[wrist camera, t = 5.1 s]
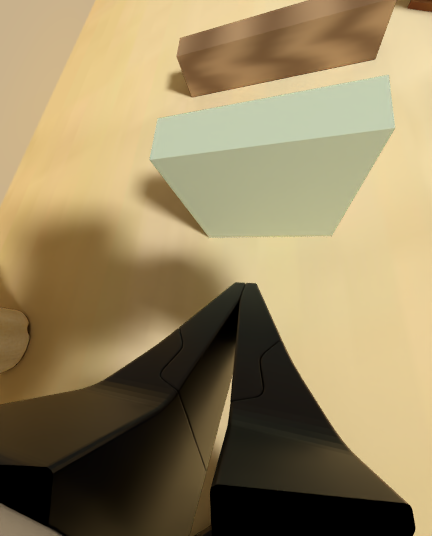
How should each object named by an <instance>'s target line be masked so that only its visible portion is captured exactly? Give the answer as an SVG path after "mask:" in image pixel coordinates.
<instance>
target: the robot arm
mask: <svg viewBox="0 0 432 536" xmlns="http://www.w3.org/2000/svg"><path fill="white" fill-rule="evenodd" d="M232 375H233V379H232ZM231 379H232V390H231V404H230V412H229V420H228V426H227V430H226V434H225V437H224V441H223V445H222V449H221V452H220V456H219V460H218V463H217V467H216V471H215V474H214V478H213V482H212V486H211V489H210V505H211V526H209V527H208V528H206V529H205V530H203V531H202V532H200V533H199V534H197V535H196V536H413V534H414V532H415V522H414V517H413V511H412V508H411V506H410V505H409V504H408V503H407V502H406V501H405V500H404V499H402V498H401V497H400V496H399V495H398V494H397V493H396V492H395V491H394V490H393V489H392V488H390V487H389V486H388V485H387V484H386V483H385V482H384V481H383V480H382V479H381V478H380V477H379V476H377V475H376V474H375V473H374V472H373V471H372V470H371V469H370V468H369V467H368V466H367V465H365V464H364V463H363V462H362V461H361V460H360V459H359V458H358V457H357V456H356V455H355V454H354V453H353V452H352V451H351V450H350V449H349V448H348V447H347V445H346V444H345V443H344V442H343V441H342V439H341V438H340V437H339V435H338V434H337V432H336V431H335V430H334V428H333V426H332V425H331V423H330V422H329V420H328V419H327V417H326V416H325V414H324V412H323V411H322V409H321V408H320V406H319V405H318V403H317V401H316V400H315V398H314V397H313V395H312V393H311V392H310V390H309V389H308V387H307V386H306V384H305V382H304V381H303V379H302V378H301V376H300V374H299V372H298V371H297V369H296V367H295V366H294V364H293V362H292V360H291V358H290V356H289V354H288V352H287V350H286V348H285V346H284V343H283V341H282V339H281V337H280V335H279V333H278V330H277V328H276V326H275V324H274V321H273V319H272V317H271V315H270V313H269V310H268V308H267V306H266V304H265V301H264V299H263V297H262V295H261V293H260V290H259V288H258V286H257V284H256V283H246V284H245V283H238V282H236V283H234V284H233V285H232V286H230V287H229V288H228V289H227V290H225V291H224V292H223V293H222V294H220V295H219V296H218V297H217V298H215V299H214V300H213V301H212V302H210V303H209V304H208V305H207V306H205V307H204V308H203V309H202V310H200V311H199V312H198V313H197V314H195V315H194V316H193V317H192V318H190V319H189V320H188V321H187V322H185V323H184V324H183V325H182V326H180V327H179V329H177V330H175V331H174V332H173V333H172V334H170V335H169V336H168V337H166V338H165V339H164V340H162V341H161V342H160V343H159V344H157V345H156V346H154V347H153V348H151V349H150V350H148V351H147V352H146V353H144V354H143V355H141V356H140V357H138V358H137V359H135V360H134V361H132V362H131V363H129V364H128V365H126V366H125V367H123V368H122V369H120V370H119V371H117V372H116V373H114V374H113V375H111V376H109V377H108V378H106V379H105V380H103V381H101V382H99V383H97V384H95V385H92V386H90V387H87V388H83V389H79V390H75V391H69V392H64V393H59V394H54V395H48V396H43V397H38V398H33V399H28V400H22V401H17V402H12V403H7V404H2V405H0V536H189V535H190V531H191V528H192V524H193V520H194V516H195V513H196V509H197V505H198V502H199V498H200V494H201V490H202V487H203V483H204V479H205V476H206V471H207V468H208V464H209V460H210V457H211V453H212V449H213V445H214V442H215V438H216V434H217V431H218V427H219V423H220V419H221V416H222V412H223V408H224V405H225V401H226V397H227V393H228V390H229V386H230V382H231Z"/></svg>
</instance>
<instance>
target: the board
mask: <svg viewBox="0 0 432 536" xmlns="http://www.w3.org/2000/svg"><path fill="white" fill-rule="evenodd" d="M396 1H397V0H308V1H304V2H301V3H298V4H294V5H291V6H287V7H284V8H281V9H277V10H274V11H270V12H267V13H264V14H260V15H257V16H253V17H250V18H247V19H243V20H240V21H237V22H233V23H230V24H226V25H223V26H220V27H216V28H213V29H209V30H206V31H203V32H199V33H196V34H192V35H189V36H186V37H182V38H180V41H179V47H178V52H177V59H178V62H179V64H180V67H181V70H182V72H183V75H184V78H185V80H186V83H187V86H188V88H189V91H190V94H191V96H192V97H195V96H200V95H205V94H210V93H214V92H219V91H224V90H229V89H234V88H238V87H243V86H248V85H253V84H258V83H262V82H267V81H272V80H277V79H282V78H287V77H291V76H296V75H301V74H306V73H311V72H315V71H320V70H325V69H330V68H335V67H340V66H344V65H349V64H354V63H359V62H364V61H368V60H373V59H375V58H376V56H377V53H378V50H379V47H380V45H381V42H382V39H383V36H384V34H385V31H386V28H387V25H388V23H389V20H390V17H391V14H392V12H393V9H394V6H395V3H396Z"/></svg>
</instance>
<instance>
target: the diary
mask: <svg viewBox="0 0 432 536" xmlns="http://www.w3.org/2000/svg"><path fill="white" fill-rule="evenodd" d="M408 9H415V10H422V11H430V12H432V0H411V1H410V4H409V6H408Z"/></svg>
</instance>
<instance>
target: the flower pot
mask: <svg viewBox="0 0 432 536" xmlns="http://www.w3.org/2000/svg"><path fill="white" fill-rule="evenodd" d="M28 324H29V322H28V320H27V318H26V316H25V315H24V314H23V313H22V312H20V311H18V310H13V309H7V308H2V307H0V373H2V372H4V371H7V370H8V369H10V368H12V367H14V366H15V365H16V364H17V363H18V362H19V361H20V359H21V358H22V356H23V354H24V352H25V350H26V348H27V345H28V342H29V335H28V332H27V326H28Z"/></svg>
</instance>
